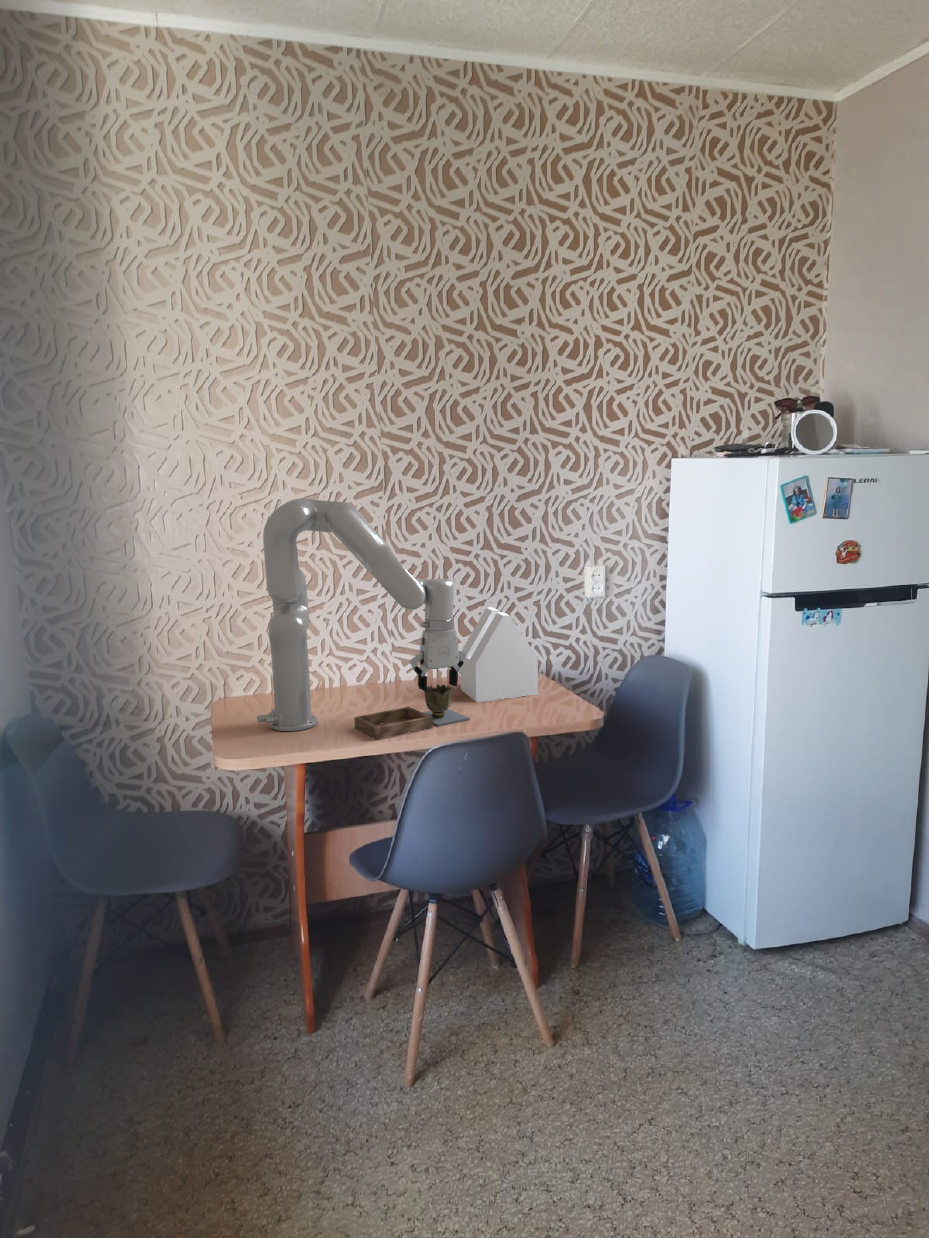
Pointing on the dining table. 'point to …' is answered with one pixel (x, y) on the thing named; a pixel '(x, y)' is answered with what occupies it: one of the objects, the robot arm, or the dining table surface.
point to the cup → (438, 700)
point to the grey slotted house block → (498, 660)
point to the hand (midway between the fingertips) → (438, 687)
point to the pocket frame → (412, 725)
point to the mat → (447, 718)
